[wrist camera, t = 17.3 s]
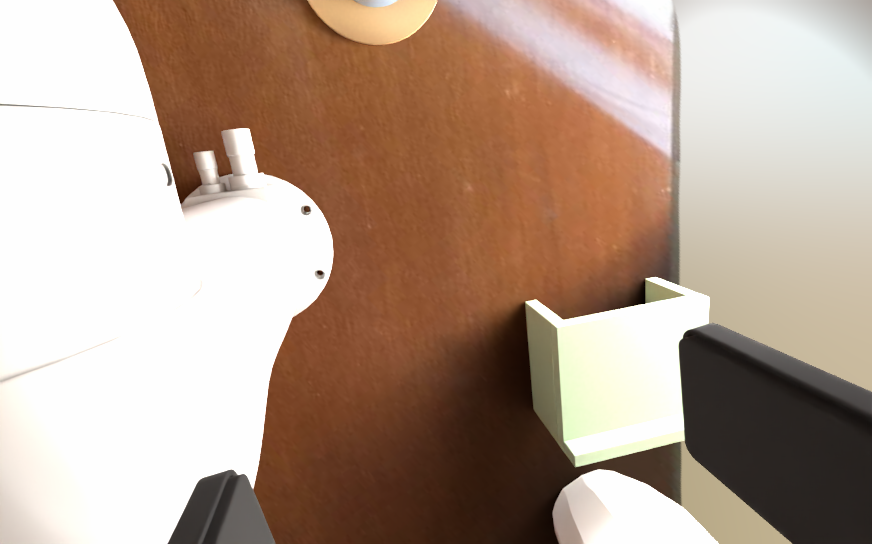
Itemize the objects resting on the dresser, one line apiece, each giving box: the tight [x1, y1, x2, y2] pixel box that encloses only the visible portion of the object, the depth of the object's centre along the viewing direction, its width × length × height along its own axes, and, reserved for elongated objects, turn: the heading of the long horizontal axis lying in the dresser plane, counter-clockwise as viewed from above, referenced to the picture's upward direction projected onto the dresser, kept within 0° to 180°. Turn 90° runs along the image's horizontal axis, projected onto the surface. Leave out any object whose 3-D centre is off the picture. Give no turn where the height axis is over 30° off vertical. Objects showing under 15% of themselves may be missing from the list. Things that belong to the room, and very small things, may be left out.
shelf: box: [525, 277, 709, 467], centre depth 40 cm, size 12×14×9 cm
